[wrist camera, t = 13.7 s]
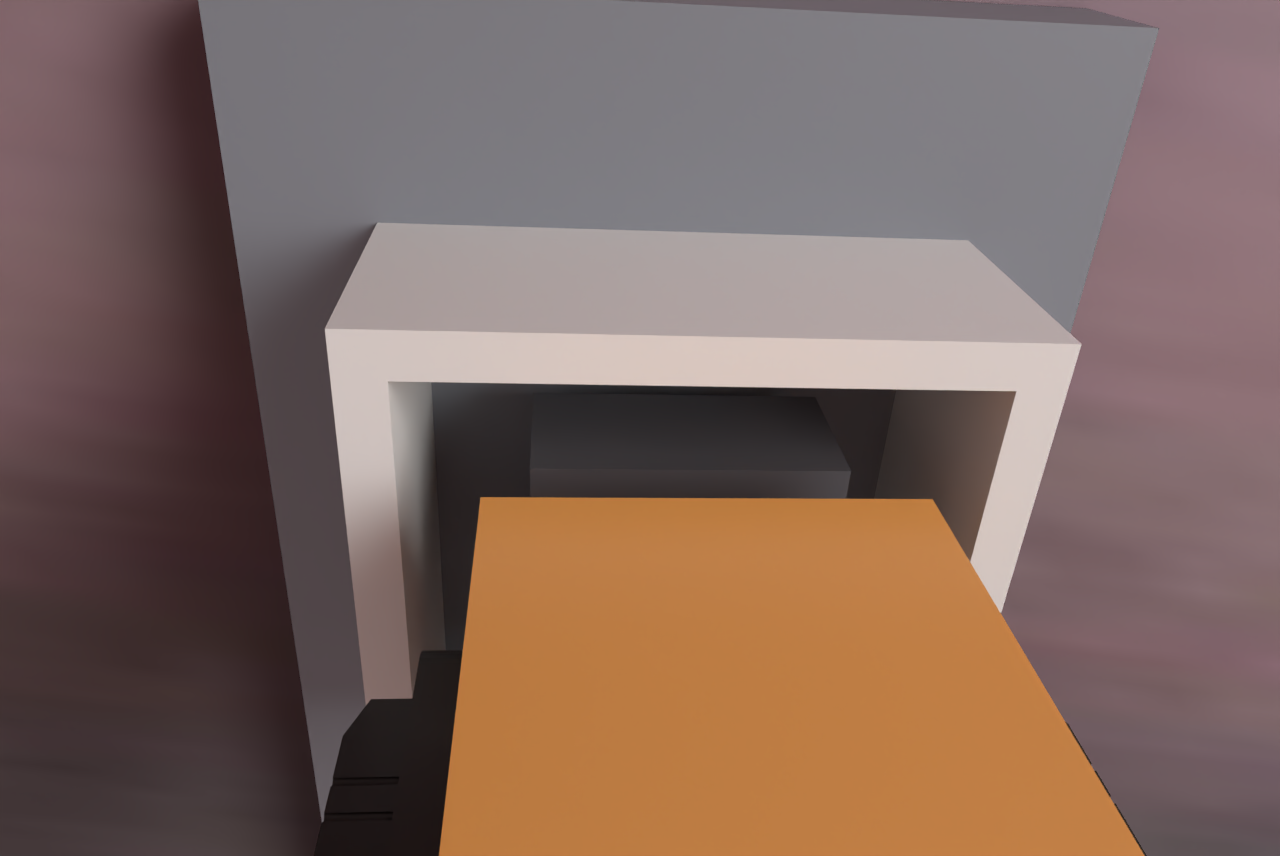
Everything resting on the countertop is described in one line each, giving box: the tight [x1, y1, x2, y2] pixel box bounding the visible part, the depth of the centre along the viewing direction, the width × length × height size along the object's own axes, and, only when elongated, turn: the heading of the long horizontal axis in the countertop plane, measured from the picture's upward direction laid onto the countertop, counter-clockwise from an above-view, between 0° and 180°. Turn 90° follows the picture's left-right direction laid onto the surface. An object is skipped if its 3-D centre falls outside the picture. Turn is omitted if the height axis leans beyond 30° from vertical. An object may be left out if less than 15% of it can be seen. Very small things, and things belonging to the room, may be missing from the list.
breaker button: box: [530, 393, 851, 499], centre depth 14 cm, size 4×4×2 cm
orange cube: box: [439, 497, 1145, 856], centre depth 10 cm, size 5×5×5 cm
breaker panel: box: [198, 0, 1159, 822], centre depth 18 cm, size 12×24×6 cm, turn 177°
